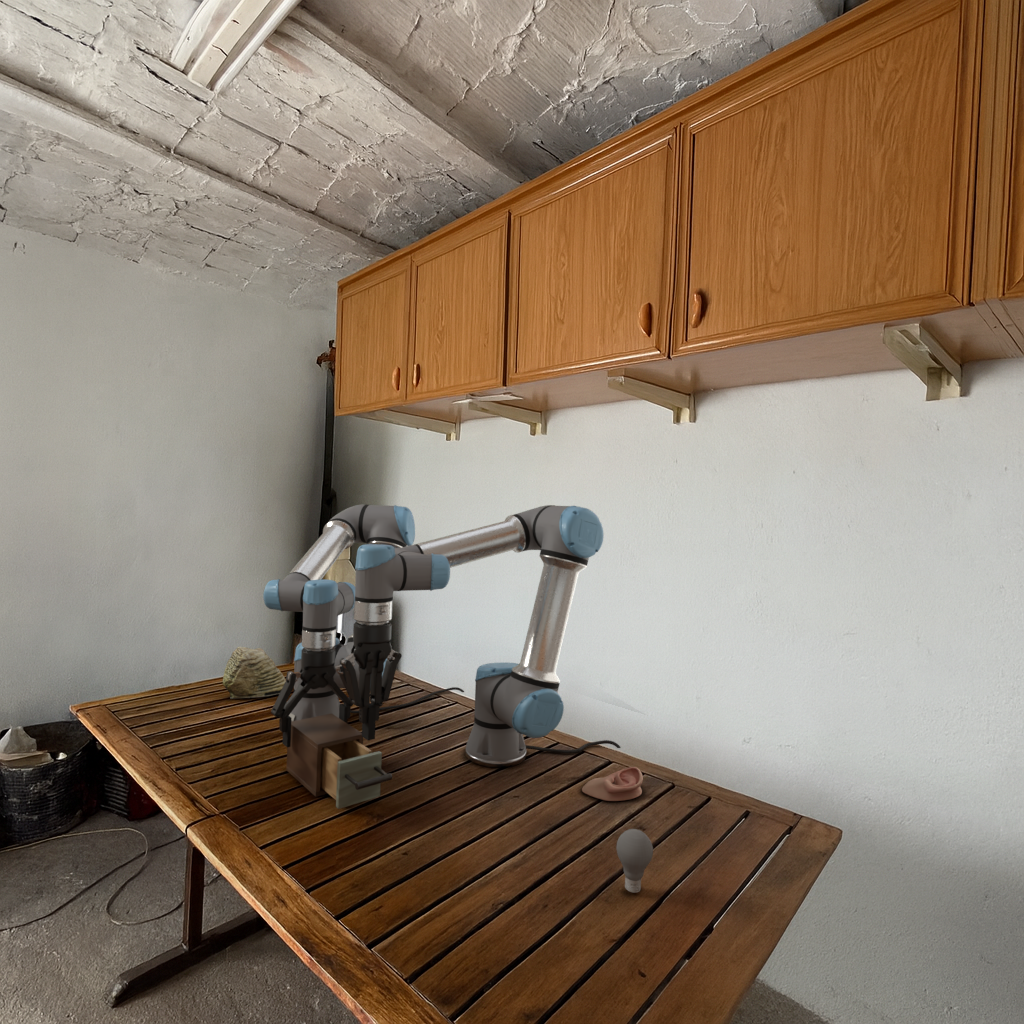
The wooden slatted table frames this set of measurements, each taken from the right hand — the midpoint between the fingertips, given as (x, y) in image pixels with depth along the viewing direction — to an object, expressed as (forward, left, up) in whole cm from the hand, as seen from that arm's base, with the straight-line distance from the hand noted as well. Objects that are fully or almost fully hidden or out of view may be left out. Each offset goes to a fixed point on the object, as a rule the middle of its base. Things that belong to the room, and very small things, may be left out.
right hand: (368, 737), depth 128 cm
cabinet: (+6, -19, -15) cm, 25 cm away
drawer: (+2, -6, -14) cm, 16 cm away
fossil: (+20, -84, -15) cm, 88 cm away
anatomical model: (-54, +7, -15) cm, 56 cm away
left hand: (+8, -24, -8) cm, 26 cm away
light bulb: (-37, +40, -15) cm, 57 cm away
